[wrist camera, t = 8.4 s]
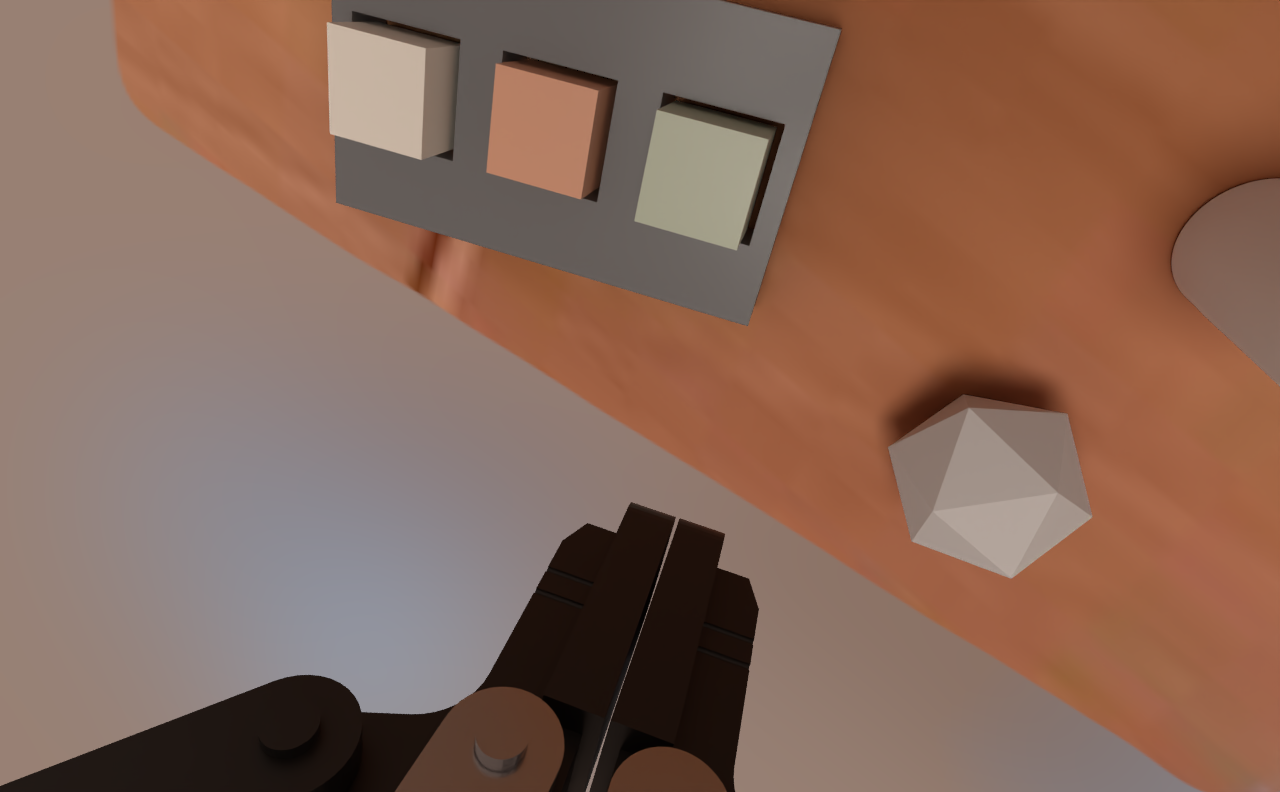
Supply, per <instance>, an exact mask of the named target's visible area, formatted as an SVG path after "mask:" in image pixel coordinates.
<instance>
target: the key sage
mask: <svg viewBox="0 0 1280 792" xmlns="http://www.w3.org/2000/svg"><path fill="white" fill-rule="evenodd" d="M776 129H777V127H776V126H772V125H768V124H765V123H761V122H757V121H753V120H749V119H746V118H742V117H738V116H734V115H730V114H727V113H723V112H719V111H715V110H711V109H708V108H704V107H700V106H696V105H692V104H689V103H685V102H681V101H677V100H676V101H674V102H672V103H670V104H668V105H666V106H664V107H662V108H660V109H658V110H657V111H656V116H655V121H654V126H653V131H652V136H651V141H650V146H649V151H648V156H647V161H646V165H645V170H644V175H643V180H642V185H641V190H640V195H639V200H638V205H637V210H636V215H635V220H634V221H635V222H639V223H642V224H646V225H649V226H653V227H656V228H660V229H663V230H667V231H670V232H674V233H677V234H681V235H684V236H688V237H691V238H695V239H698V240H702V241H705V242H709V243H712V244H716V245H719V246H723V247H726V248H729V249H733V250H736V251H737V249H738V247H739V245H740V243H741V241H742V239H743V237H744V235H745V233H746V231H747V228H748V225H749V222H750V218H751V215H752V212H753V208H754V205H755V201H756V198H757V194H758V191H759V188H760V184H761V181H762V177H763V174H764V170H765V167H766V164H767V160H768V157H769V153H770V150H771V146H772V143H773V140H774V136H775V133H776Z"/></svg>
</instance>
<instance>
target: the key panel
mask: <svg viewBox="0 0 1280 792" xmlns="http://www.w3.org/2000/svg"><path fill="white" fill-rule="evenodd" d="M386 20H389V21H393V22H397V23H401V24H404V25H408V26H412V27H416V28H420V29H424V30H427V31H431V32H435V33H439V34H443V35H446V36H450V37H454V38H458V39H461V41H460V57H459V73H458V89H457V104H456V120H455V136H454V149H452V150H449V151H446V152H443V153H440V154H438V155H435V156H432V157H429V158H426V159H423V160H420V159H416V158H413V157H409V156H406V155H402V154H399V153H395V152H392V151H388V150H385V149H381V148H378V147H374V146H371V145H367V144H364V143H360V142H357V141H353V140H350V139H346V138H343V137H340V136H336V135H335V168H336V203H339V204H343V205H346V206H349V207H353V208H356V209H359V210H363V211H366V212H369V213H373V214H376V215H379V216H383V217H386V218H389V219H393V220H396V221H399V222H403V223H406V224H409V225H413V226H416V227H419V228H423V229H426V230H429V231H433V232H436V233H439V234H443V235H446V236H449V237H452V238H456V239H459V240H462V241H466V242H469V243H472V244H476V245H479V246H482V247H486V248H489V249H492V250H496V251H499V252H502V253H506V254H509V255H512V256H516V257H519V258H522V259H526V260H529V261H532V262H536V263H539V264H542V265H546V266H549V267H552V268H556V269H559V270H562V271H566V272H569V273H572V274H576V275H579V276H582V277H586V278H589V279H592V280H596V281H599V282H602V283H606V284H609V285H612V286H616V287H619V288H622V289H626V290H629V291H632V292H636V293H639V294H642V295H646V296H649V297H652V298H656V299H659V300H662V301H666V302H669V303H672V304H676V305H679V306H682V307H686V308H689V309H692V310H696V311H699V312H702V313H706V314H709V315H712V316H716V317H719V318H722V319H726V320H729V321H732V322H736V323H739V324H742V325H746V326H748V324H749V321H750V318H751V315H752V312H753V309H754V306H755V302H756V299H757V296H758V293H759V290H760V287H761V283H762V280H763V277H764V274H765V271H766V268H767V264H768V261H769V258H770V255H771V252H772V249H773V245H774V242H775V239H776V236H777V233H778V230H779V226H780V223H781V220H782V217H783V214H784V211H785V207H786V204H787V201H788V198H789V195H790V192H791V188H792V185H793V182H794V179H795V176H796V173H797V169H798V166H799V163H800V160H801V157H802V153H803V150H804V147H805V144H806V141H807V138H808V134H809V131H810V128H811V125H812V122H813V119H814V115H815V112H816V109H817V106H818V103H819V100H820V96H821V93H822V90H823V87H824V84H825V81H826V77H827V74H828V71H829V68H830V65H831V62H832V58H833V55H834V52H835V49H836V46H837V43H838V39H839V36H840V33H841V30H842V29H841V28H837V27H833V26H829V25H824V24H820V23H816V22H812V21H808V20H804V19H800V18H796V17H791V16H787V15H783V14H779V13H775V12H771V11H767V10H763V9H759V8H754V7H750V6H746V5H742V4H738V3H734V2H730V1H726V0H332V22H381V23H384V24H386ZM527 57H530V58H534V59H538V60H542V61H546V62H549V63H553V64H557V65H561V66H565V67H568V68H572V69H576V70H580V71H584V72H587V73H591V74H595V75H599V76H603V77H607V78H610V79H614V80H618V85H617V90H616V96H615V102H614V108H613V114H612V119H611V125H610V131H609V137H608V143H607V148H606V154H605V160H604V166H603V171H602V177H601V183H600V187H599V188H597V189H596V190H594V191H593V192H591V193H590V194H588V195H587V196H585V197H584V198H582V199H577V198H574V197H570V196H567V195H563V194H560V193H556V192H553V191H549V190H546V189H542V188H539V187H535V186H532V185H528V184H525V183H521V182H518V181H514V180H511V179H507V178H504V177H500V176H497V175H493V174H490V173H486V170H487V159H488V147H489V136H490V125H491V113H492V102H493V91H494V79H495V68H496V63H503V62H510V61H517V60H525V59H527ZM675 96H679V97H683V98H687V99H690V100H694V101H698V102H702V103H706V104H709V105H713V106H717V107H721V108H725V109H729V110H732V111H736V112H740V113H744V114H748V115H751V116H755V117H759V118H763V119H767V120H770V121H774V122H778V123H782V124H785V128H784V131H783V135H782V138H781V141H780V145H779V148H778V151H777V155H776V158H775V161H774V165H773V168H772V172H771V175H770V178H769V182H768V185H767V188H766V192H765V195H764V198H763V202H762V205H761V209H760V212H759V215H758V219H757V222H756V225H755V229H751V228H747V231H746V233H745V235H744V237H743V239H742V241H741V243H740V245H739V247H738V249H737V251H736V250H733V249H729V248H726V247H723V246H719V245H716V244H712V243H709V242H705V241H702V240H698V239H695V238H691V237H688V236H684V235H681V234H677V233H674V232H670V231H667V230H663V229H660V228H656V227H653V226H649V225H646V224H642V223H639V222H635V221H634V220H635V215H636V210H637V205H638V200H639V195H640V190H641V185H642V180H643V175H644V170H645V165H646V161H647V156H648V151H649V146H650V141H651V136H652V131H653V126H654V121H655V116H656V111H657V110H658V109H660V108H662V107H664V106H666V105H668V104H670V103H672V102H674V98H675Z"/></svg>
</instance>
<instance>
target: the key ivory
mask: <svg viewBox="0 0 1280 792" xmlns="http://www.w3.org/2000/svg"><path fill="white" fill-rule="evenodd" d="M327 44H328V82H329V121H330V134H333V135H336V136H340V137H343V138H346V139H350V140H353V141H357V142H360V143H364V144H367V145H371V146H374V147H378V148H381V149H385V150H388V151H392V152H395V153H399V154H402V155H406V156H409V157H413V158H416V159H420V160H423V159H426V158H429V157H432V156H435V155H438V154H440V153H443V152H446V151H449V150H452V149H454V136H455V120H456V104H457V89H458V73H459V57H460V43H457V42H453V41H449V40H445V39H441V38H438V37H434V36H430V35H426V34H422V33H419V32H415V31H411V30H407V29H403V28H400V27H396V26H392V25H388V24H384V23H381V22H327Z"/></svg>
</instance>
